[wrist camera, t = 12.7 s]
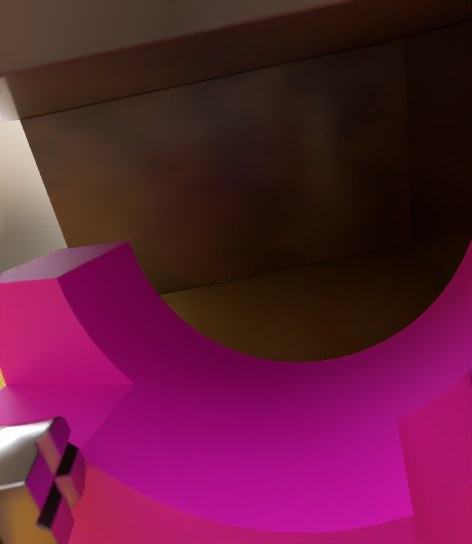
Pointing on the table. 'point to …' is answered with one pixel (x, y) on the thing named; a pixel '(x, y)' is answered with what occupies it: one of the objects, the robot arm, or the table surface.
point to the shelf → (246, 128)
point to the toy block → (238, 416)
